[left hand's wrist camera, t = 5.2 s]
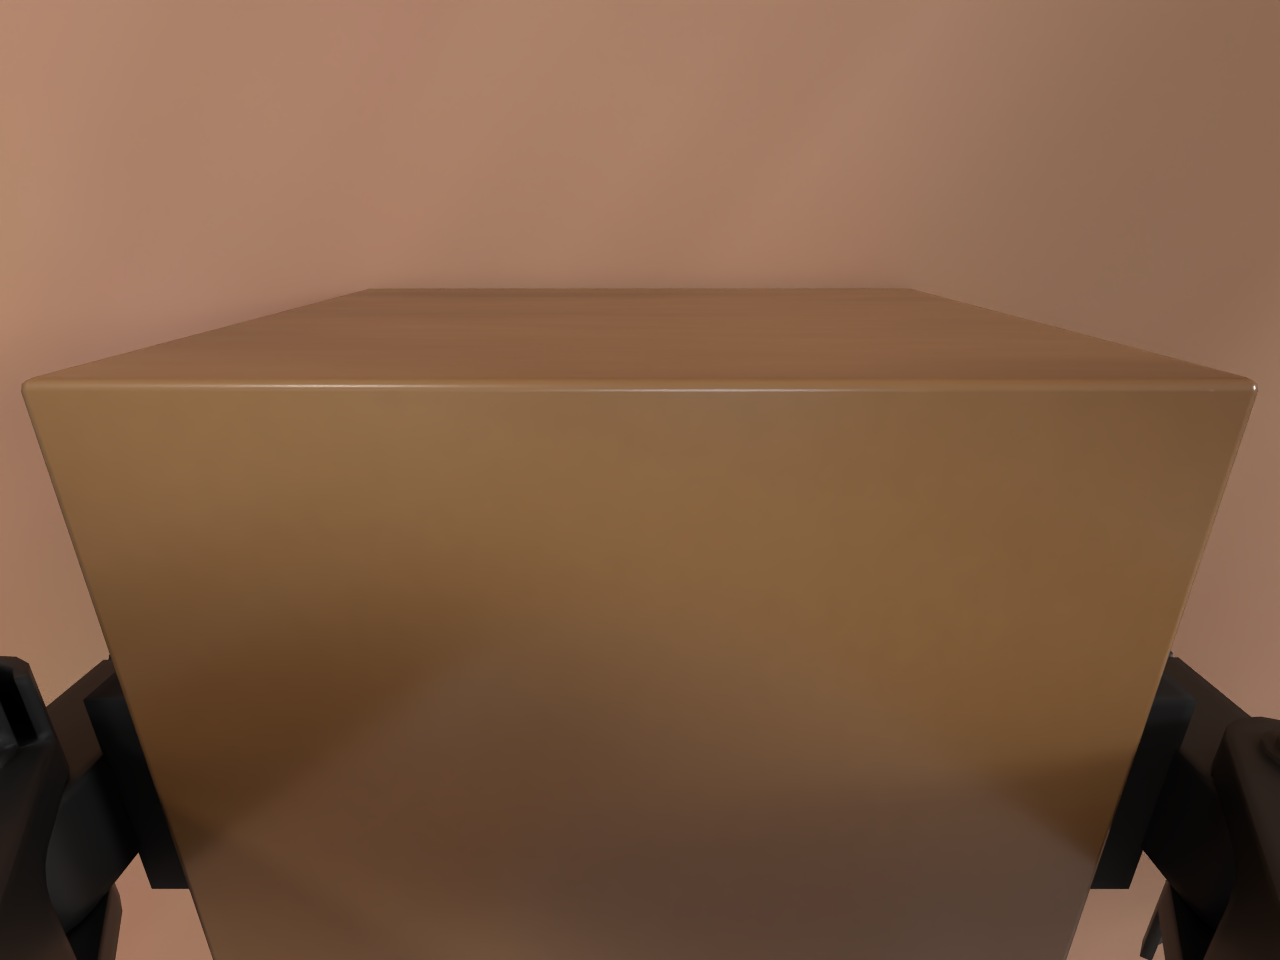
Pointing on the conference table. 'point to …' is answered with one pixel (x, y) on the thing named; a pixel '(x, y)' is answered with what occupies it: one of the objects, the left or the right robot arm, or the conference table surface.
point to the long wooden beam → (639, 615)
